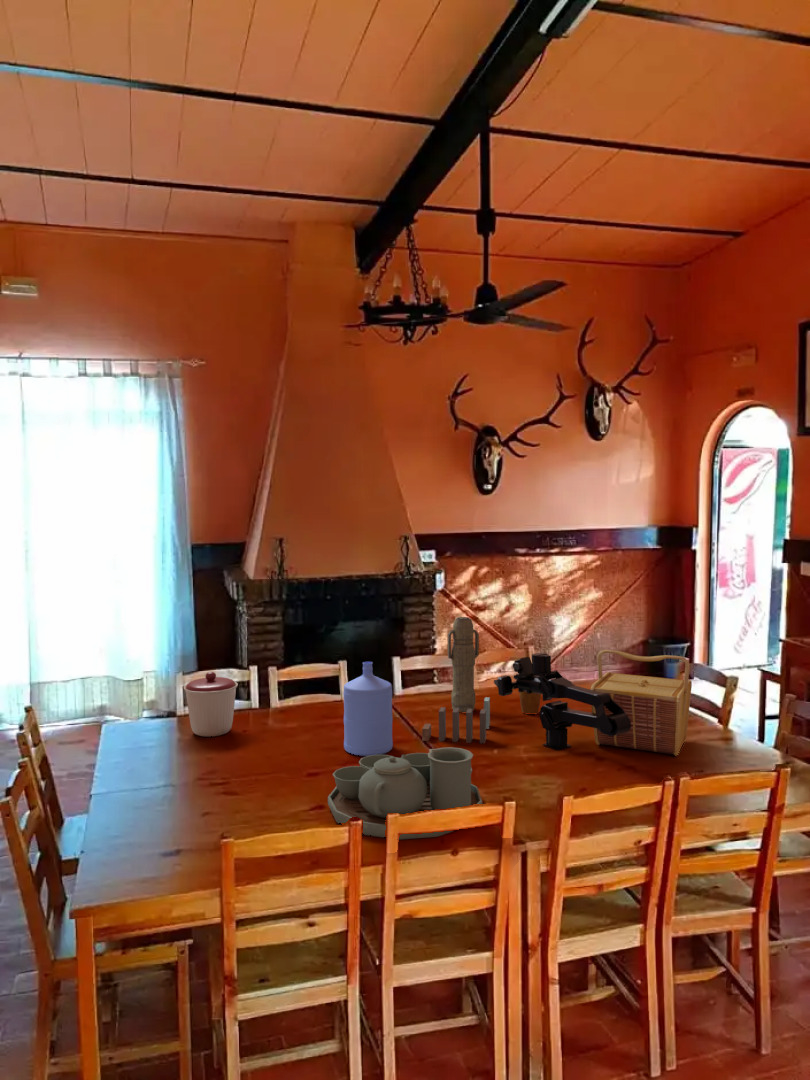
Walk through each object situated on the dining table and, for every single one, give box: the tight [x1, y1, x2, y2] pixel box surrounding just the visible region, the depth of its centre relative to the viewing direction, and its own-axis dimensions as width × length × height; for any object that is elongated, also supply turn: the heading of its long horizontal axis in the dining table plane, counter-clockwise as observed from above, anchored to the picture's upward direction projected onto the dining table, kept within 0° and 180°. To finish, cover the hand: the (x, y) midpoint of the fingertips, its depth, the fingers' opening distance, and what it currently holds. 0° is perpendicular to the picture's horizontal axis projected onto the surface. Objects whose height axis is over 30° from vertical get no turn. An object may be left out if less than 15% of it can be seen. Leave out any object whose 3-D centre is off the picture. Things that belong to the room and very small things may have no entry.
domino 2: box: [451, 708, 460, 743], centre depth 262 cm, size 2×5×10 cm, turn 169°
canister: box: [183, 671, 239, 738], centre depth 271 cm, size 18×18×21 cm
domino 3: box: [465, 709, 474, 744], centre depth 261 cm, size 2×5×10 cm, turn 169°
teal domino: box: [483, 696, 491, 730], centre depth 276 cm, size 2×5×10 cm, turn 169°
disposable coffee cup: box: [518, 691, 542, 714], centre depth 294 cm, size 10×10×12 cm
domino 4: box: [479, 708, 487, 745], centre depth 260 cm, size 2×5×10 cm, turn 169°
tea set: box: [327, 746, 483, 840], centre depth 206 cm, size 40×40×16 cm
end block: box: [421, 723, 432, 742], centre depth 264 cm, size 2×6×4 cm, turn 169°
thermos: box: [447, 616, 480, 712], centre depth 297 cm, size 9×12×35 cm
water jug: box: [342, 661, 394, 757], centre depth 253 cm, size 16×16×28 cm
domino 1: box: [438, 706, 447, 742], centre depth 263 cm, size 2×5×10 cm, turn 169°
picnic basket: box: [590, 649, 693, 757], centre depth 256 cm, size 29×26×30 cm
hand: (504, 679), depth 274 cm, fingers open, 9 cm apart
